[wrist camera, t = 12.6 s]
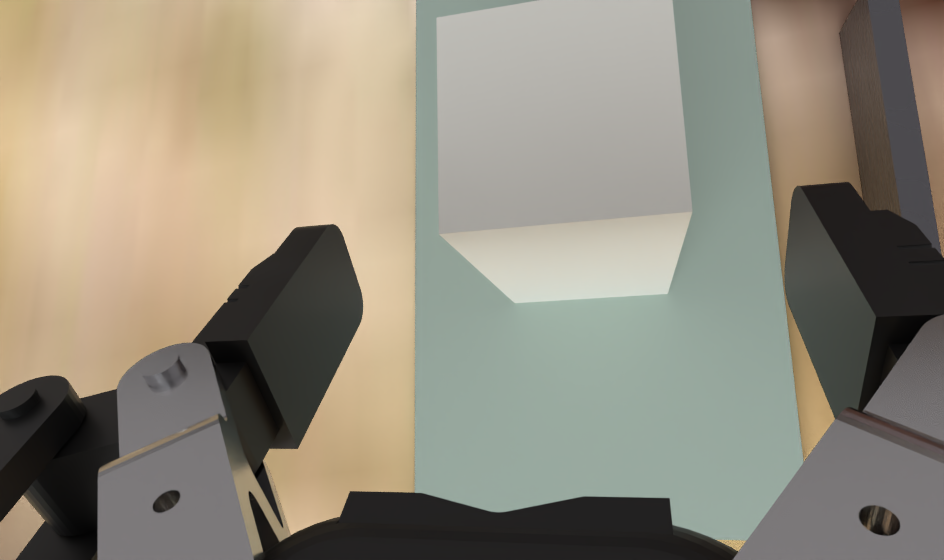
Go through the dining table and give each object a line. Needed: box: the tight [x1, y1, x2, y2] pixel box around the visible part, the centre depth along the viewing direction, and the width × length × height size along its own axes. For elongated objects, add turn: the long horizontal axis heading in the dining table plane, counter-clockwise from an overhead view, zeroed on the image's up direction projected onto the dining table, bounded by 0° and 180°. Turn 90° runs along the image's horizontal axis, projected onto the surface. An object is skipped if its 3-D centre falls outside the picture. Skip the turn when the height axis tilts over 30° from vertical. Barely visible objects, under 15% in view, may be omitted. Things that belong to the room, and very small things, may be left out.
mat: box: [415, 0, 804, 540], centre depth 22 cm, size 12×20×1 cm, turn 1°
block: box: [436, 0, 693, 303], centre depth 17 cm, size 5×5×9 cm
